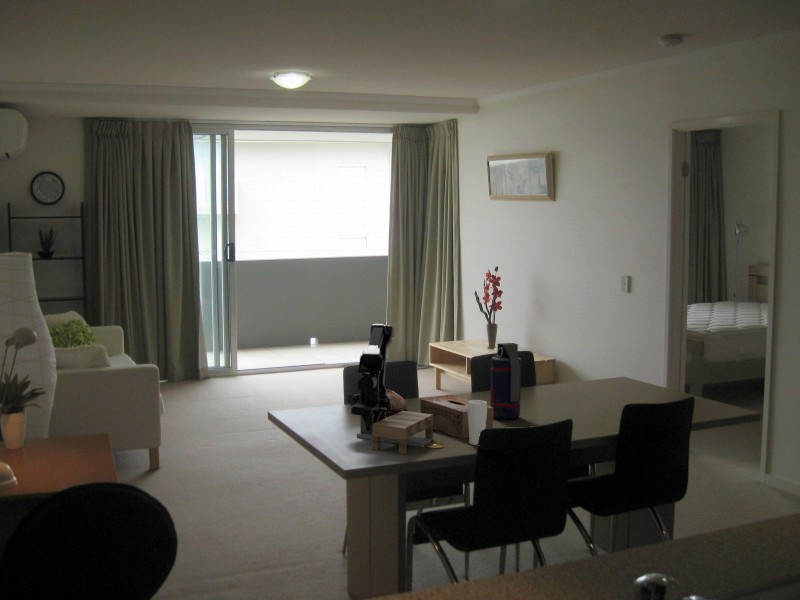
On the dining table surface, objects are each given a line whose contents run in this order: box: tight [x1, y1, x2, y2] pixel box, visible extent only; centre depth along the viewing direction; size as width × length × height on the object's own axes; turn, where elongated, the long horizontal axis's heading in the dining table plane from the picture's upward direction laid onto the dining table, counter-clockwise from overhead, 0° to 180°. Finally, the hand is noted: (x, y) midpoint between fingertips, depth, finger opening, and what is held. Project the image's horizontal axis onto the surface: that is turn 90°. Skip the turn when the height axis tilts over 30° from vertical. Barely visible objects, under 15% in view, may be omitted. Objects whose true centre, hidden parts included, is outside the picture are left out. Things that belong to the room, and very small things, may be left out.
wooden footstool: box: [371, 410, 434, 456], centre depth 289 cm, size 23×12×9 cm, turn 153°
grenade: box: [489, 342, 522, 421], centre depth 329 cm, size 14×12×30 cm
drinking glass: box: [468, 399, 488, 446], centre depth 291 cm, size 7×7×15 cm
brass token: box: [426, 441, 445, 449], centre depth 288 cm, size 6×6×1 cm
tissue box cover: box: [419, 394, 494, 439], centre depth 313 cm, size 26×14×10 cm, turn 35°
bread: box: [386, 389, 407, 416], centre depth 340 cm, size 16×20×10 cm
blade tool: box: [356, 415, 432, 448], centre depth 294 cm, size 6×26×8 cm, turn 63°
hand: (370, 429), depth 299 cm, fingers closed on blade tool, 2 cm apart
